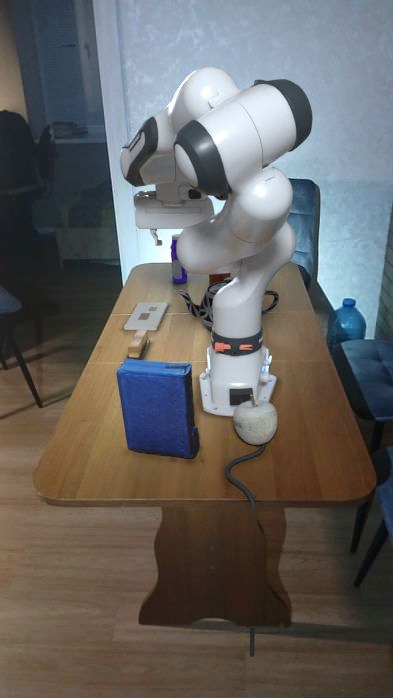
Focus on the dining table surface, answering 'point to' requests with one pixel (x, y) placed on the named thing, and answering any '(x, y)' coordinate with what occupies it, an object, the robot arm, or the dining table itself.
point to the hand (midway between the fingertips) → (176, 245)
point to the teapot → (206, 305)
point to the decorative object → (255, 421)
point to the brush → (138, 345)
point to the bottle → (177, 263)
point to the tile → (146, 316)
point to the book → (158, 407)
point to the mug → (218, 277)
